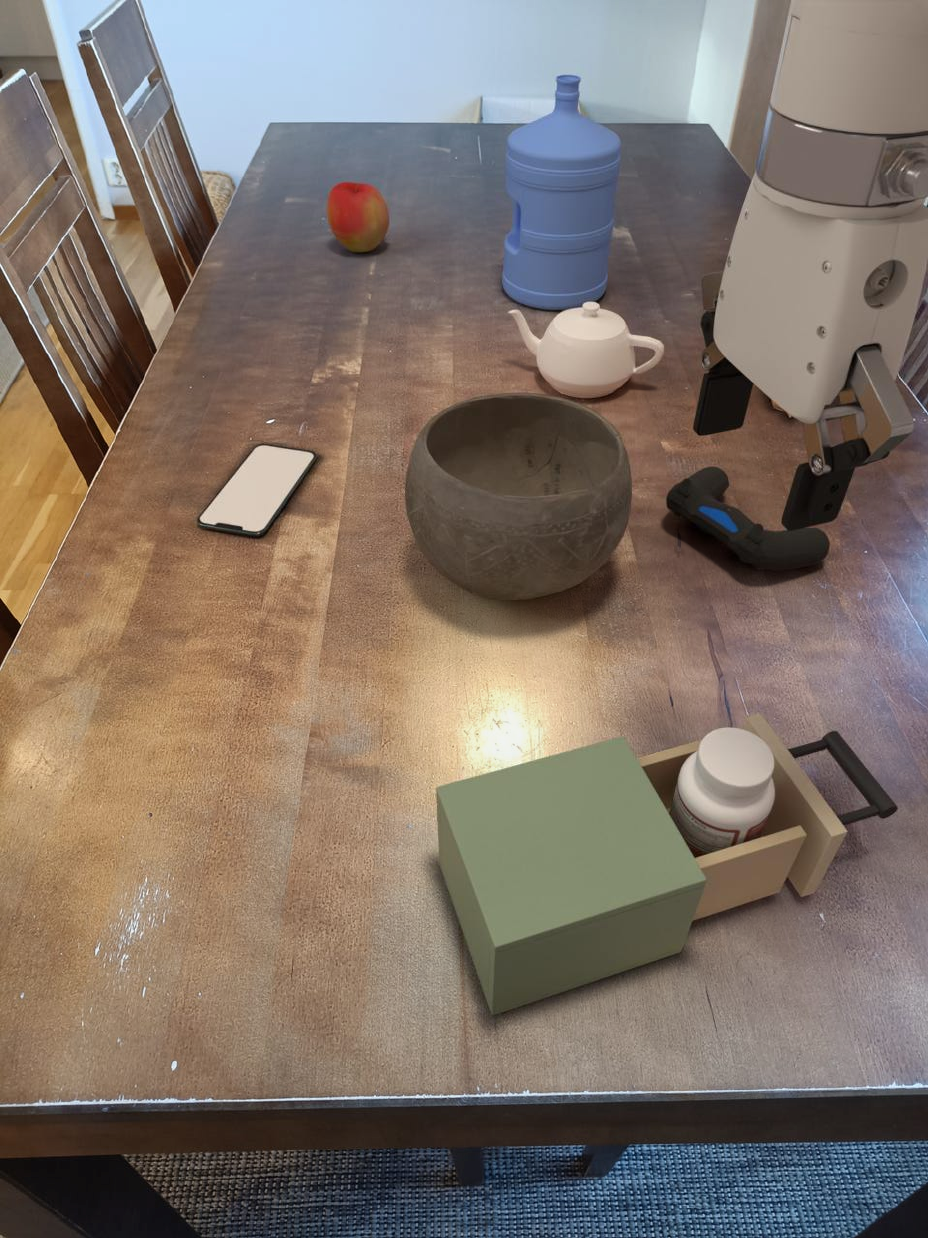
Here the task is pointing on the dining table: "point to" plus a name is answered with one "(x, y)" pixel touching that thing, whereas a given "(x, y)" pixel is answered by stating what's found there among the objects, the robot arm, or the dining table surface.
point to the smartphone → (257, 490)
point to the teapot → (587, 351)
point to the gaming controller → (743, 525)
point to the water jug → (560, 205)
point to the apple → (357, 215)
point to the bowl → (518, 494)
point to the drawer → (776, 821)
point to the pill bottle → (724, 791)
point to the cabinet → (564, 872)
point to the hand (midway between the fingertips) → (759, 473)
